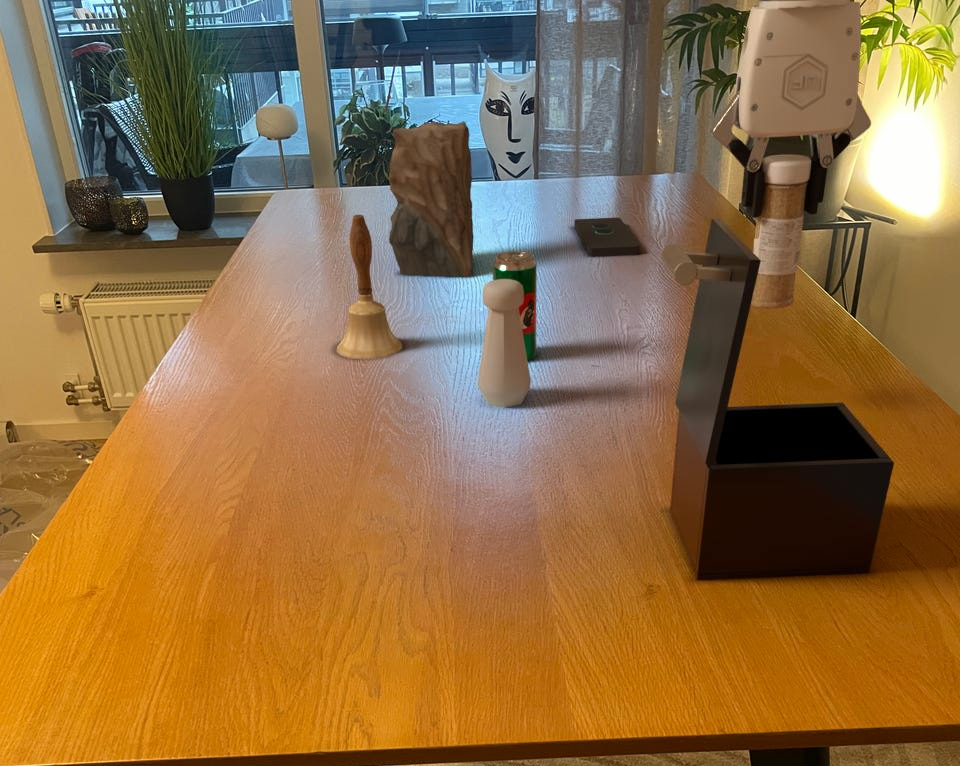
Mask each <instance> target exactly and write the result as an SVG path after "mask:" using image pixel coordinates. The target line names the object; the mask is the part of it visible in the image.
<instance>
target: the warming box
mask: <svg viewBox="0 0 960 766" xmlns="http://www.w3.org/2000/svg"><path fill="white" fill-rule="evenodd" d="M677 415H678V416H677V417H678V418H677V428H676V441H675V450H674V461H673V471H672V472H673V474H672V484H671V493H670V494H671V495H670V507H669V513H670V516H671V518H672V521H673V523H674V526H675V528H676V531H677V533H678V536H679V539H680V541H681V544H682V546H683V549H684V552H685V554H686V557H687V560H688V561H689V564H690V566H691V569H692V571H693V574H694V577H695V580H696V581H718V580H742V579H743V580H744V579H745V580H746V579H765V578H767V579H768V578H791V577H817V576H818V577H819V576H841V575H845V576H846V575H866V574H870V571H871V567H872V562H873V558H874V554H875V549H876V545H877V540H878V535H879V531H880V527H881V523H882V519H883V513H884V509H885V506H886V501H887V496H888V492H889V487H890V483H891V478H892V474H893V469H894V465H895V461H894V460H893V459H892V458H891V456H889V454H888V453H887V452H886V451H885V450H884V449H883V448H882V447H881V445H880V444H879V442H878V441H876V439H875V438H874V437H873V436H872V434H871V433H870V432H869V431H868V430H867V429H866V427H864V425H863V424H862V423H861V422H860V420H859V419H858V418H857V417H856V416H855V415H854V414H853V412H851V410H850V409H849V408H848V407H847V406H846V404H845V403H844V402H818V403H817V402H816V403H795V404H794V403H793V404H792V403H791V404H767V405H766V404H765V405H764V404H763V405H743V406H742V405H741V406H728V407H727V411H726V416H725V420H724V425H723V429H722V433H721V438H720V442H719V446H718V451H717V455H716V460H715V464H705V462H704V460H703V458H702V456H701V454H700V452H699V450H698V448H697V446H696V444H695V442H694V440H693V438H692V436H691V434H690V432H689V430H688V428H687V426H686V424H685V422H684V420H683V418H682V416H681V414H680V412H679V411H678V414H677Z"/></svg>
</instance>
